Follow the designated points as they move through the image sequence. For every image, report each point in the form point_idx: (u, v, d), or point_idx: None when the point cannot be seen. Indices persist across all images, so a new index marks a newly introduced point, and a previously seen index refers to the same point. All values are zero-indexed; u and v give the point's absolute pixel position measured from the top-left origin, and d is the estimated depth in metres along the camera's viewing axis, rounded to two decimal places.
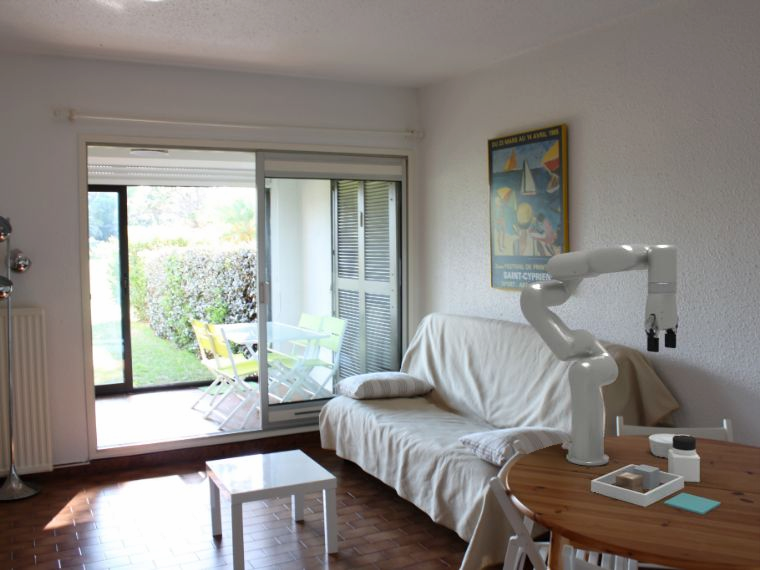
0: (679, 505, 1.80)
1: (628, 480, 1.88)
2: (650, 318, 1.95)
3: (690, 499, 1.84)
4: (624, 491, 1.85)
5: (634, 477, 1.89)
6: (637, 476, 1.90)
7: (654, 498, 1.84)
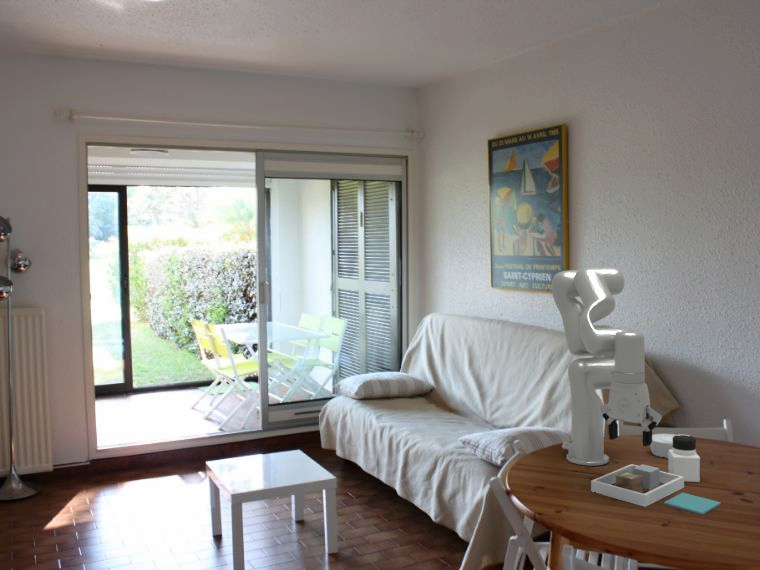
0: (679, 505, 1.80)
1: (628, 480, 1.88)
2: (653, 410, 1.84)
3: (690, 499, 1.84)
4: (624, 491, 1.85)
5: (634, 477, 1.89)
6: (637, 476, 1.90)
7: (654, 498, 1.84)
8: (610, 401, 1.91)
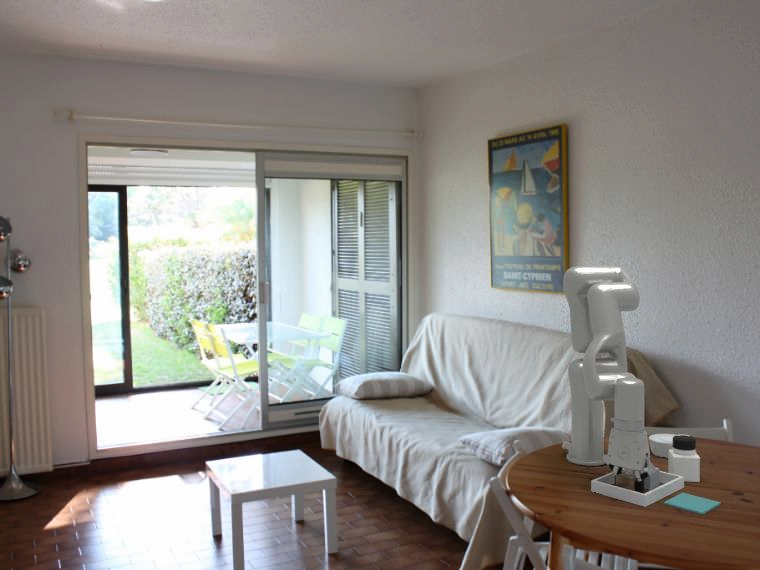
0: (679, 505, 1.80)
1: (628, 480, 1.88)
2: (650, 462, 1.86)
3: (690, 499, 1.84)
4: (624, 491, 1.85)
5: (634, 477, 1.89)
6: None
7: (654, 498, 1.84)
8: (610, 447, 1.92)
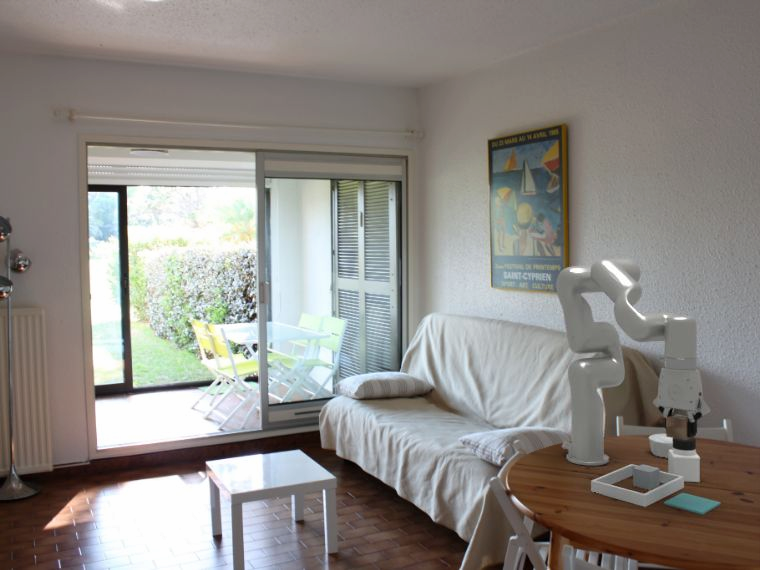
0: (679, 505, 1.80)
1: (680, 421, 1.80)
2: (703, 401, 1.78)
3: (690, 499, 1.84)
4: (624, 491, 1.85)
5: (686, 418, 1.81)
6: None
7: (654, 498, 1.84)
8: (660, 388, 1.84)
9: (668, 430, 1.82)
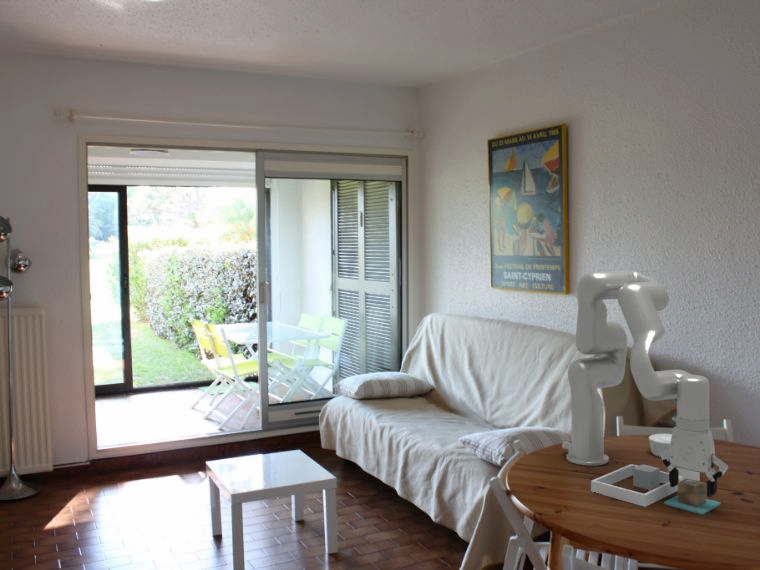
0: (679, 505, 1.80)
1: (692, 488, 1.80)
2: (719, 459, 1.77)
3: None
4: (624, 491, 1.85)
5: (698, 484, 1.81)
6: (701, 483, 1.82)
7: (654, 498, 1.84)
8: (672, 448, 1.83)
9: (680, 496, 1.82)
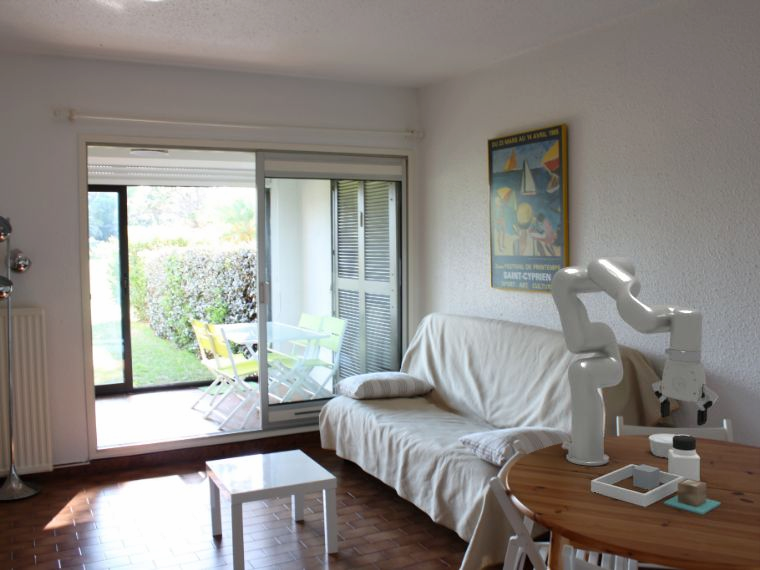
0: (679, 505, 1.80)
1: (692, 488, 1.80)
2: (709, 389, 1.81)
3: None
4: (624, 491, 1.85)
5: (698, 484, 1.81)
6: (701, 483, 1.82)
7: (654, 498, 1.84)
8: (664, 379, 1.87)
9: (680, 496, 1.82)
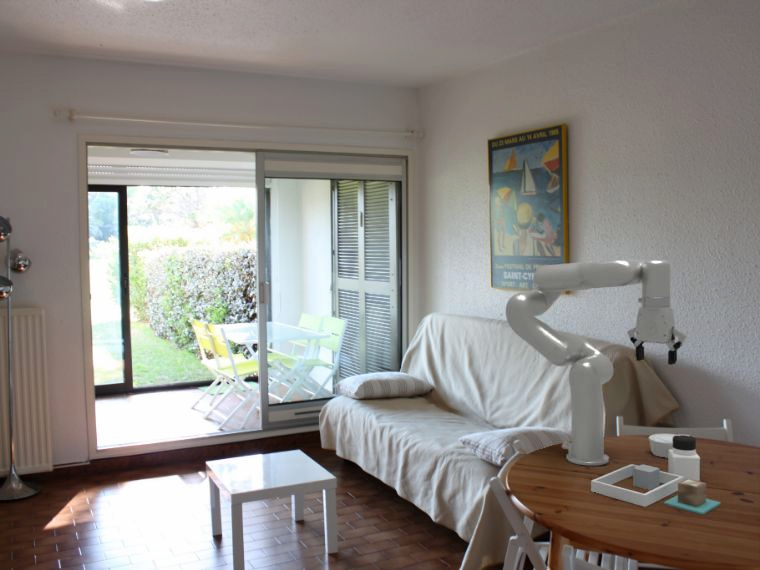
0: (679, 505, 1.80)
1: (692, 488, 1.80)
2: (678, 331, 2.01)
3: None
4: (624, 491, 1.85)
5: (698, 484, 1.81)
6: (701, 483, 1.82)
7: (654, 498, 1.84)
8: (638, 325, 2.07)
9: (680, 496, 1.82)
